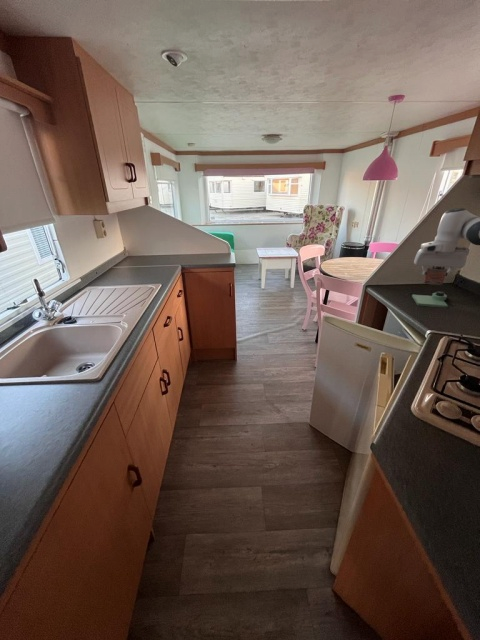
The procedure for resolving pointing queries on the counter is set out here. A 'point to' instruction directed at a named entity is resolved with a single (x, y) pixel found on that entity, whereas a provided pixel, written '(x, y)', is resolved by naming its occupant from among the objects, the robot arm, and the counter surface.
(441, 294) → the tare button
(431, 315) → the counter surface
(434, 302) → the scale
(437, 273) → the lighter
